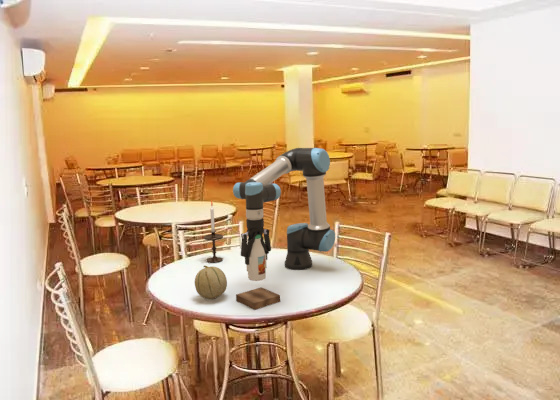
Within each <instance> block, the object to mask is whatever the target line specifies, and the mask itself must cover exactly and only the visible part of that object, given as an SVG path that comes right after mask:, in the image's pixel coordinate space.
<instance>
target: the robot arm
mask: <svg viewBox="0 0 560 400" xmlns="http://www.w3.org/2000/svg"><path fill="white" fill-rule="evenodd" d="M330 166H331V159H330V155H329V153H328V152H327V150H325V149H324V148H321V147H320V148H319V147H295V148H292V149H290V150H287V151H285V152H283V153H282V154H281V155H280V154H279V156H277V157H276V159H275V160H274V162H272V163H270V164H269V165H268V166H267V167H265V168H263V169H262V170H261V171H259V172H258V173H256V174H254V175H253V176H252V177H250V178H249V179H247V180H246V181H244V182H242V181H241V182H236V183H235V184H234V185H233V188H232V193H233V196H234V197H235V198H236V199H240V200H245V218H246V225H245V226H246V228H247V229H246V232H245V233H241V234H240V237H241V245H240V247H241V248H240V256H241V257H243V258H244V264H245V265H246V272H247V273H248V272H252V266H251V257H250V253H251V250H252V246H253V243H254V241H255V237H256V236H257V235H258V234H259V235H261V239H260V241H261V244H262V246H263V248H264V251H265V269H267V268H268V267H267V261H268V254H269V253H270V252H271V251H272V246H271V245H272V244H271V239H270V229H268V228H264V226H265V219H264V216H265V215H264V203H268V202H274V201H276V200H279V198H280V197H281V194H282V191H281V189H282V188H280V185H278V184H277V183H274V181H276V180H277V179H279V178H280V177H281V176H284V175H286V174H289V173H290V172H294V171H299V172H302V176H303V178H305V179H306V190H307V192H306V193H307V203H308V212H309V224H308V223H307V222H299V223H294V224H290V225H288V226H287V228H286V243H287V244H286V245H287V246H286V247H287V248H286V249H287V253H286V255H285V260H284V268H286V269H287V270H293V271H302V270H303V271H304V270H308V269H310V268H312V267H313V259H312V257H311V254H310V250H312V251H318V252H321V253H322V252H325V253H326V252H330V250H331V249H332V248H333V247H334V244H335V241H336V232H335V231H334V230H333V229H331V224H330V223H328V222H327V207H326V195H325V182H324V177H325V176H326V174H327V171H329V169H330ZM251 239H252V240H251Z"/></svg>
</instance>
